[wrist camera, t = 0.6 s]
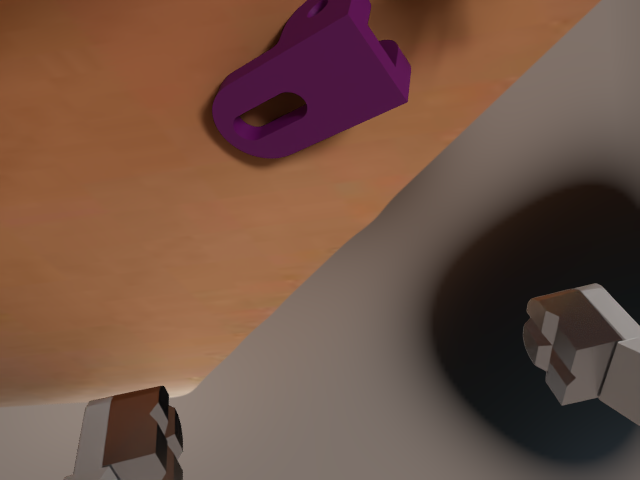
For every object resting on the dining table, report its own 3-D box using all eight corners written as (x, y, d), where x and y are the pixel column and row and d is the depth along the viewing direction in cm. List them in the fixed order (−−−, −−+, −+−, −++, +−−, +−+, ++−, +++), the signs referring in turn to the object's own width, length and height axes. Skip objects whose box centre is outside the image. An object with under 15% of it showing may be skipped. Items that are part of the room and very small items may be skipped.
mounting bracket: (273, 118, 62) (413, 47, 52) (256, 169, 57) (407, 102, 47) (216, 54, 56) (361, -38, 46) (191, 105, 51) (348, 13, 41)
